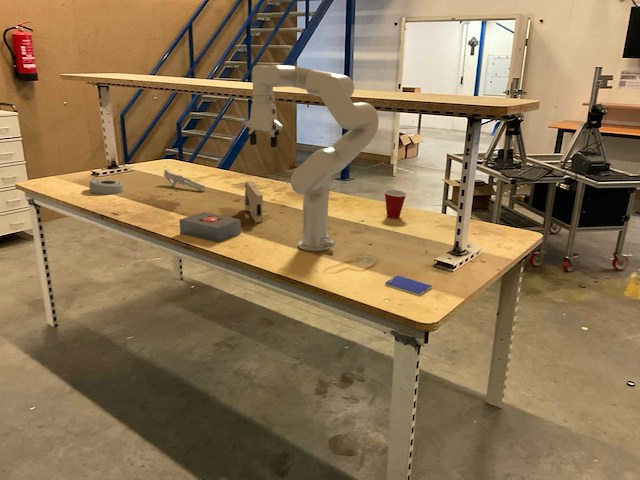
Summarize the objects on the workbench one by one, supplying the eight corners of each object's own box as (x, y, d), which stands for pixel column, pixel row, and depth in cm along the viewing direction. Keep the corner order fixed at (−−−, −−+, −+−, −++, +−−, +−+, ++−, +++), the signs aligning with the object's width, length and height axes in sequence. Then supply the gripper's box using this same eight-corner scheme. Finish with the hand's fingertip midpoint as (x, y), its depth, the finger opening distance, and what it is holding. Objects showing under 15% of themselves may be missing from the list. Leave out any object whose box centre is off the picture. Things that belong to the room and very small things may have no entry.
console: (240, 233, 211) (240, 219, 210) (217, 242, 200) (217, 228, 198) (204, 225, 221) (203, 211, 219) (180, 233, 209) (179, 219, 208)
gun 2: (243, 208, 248) (243, 178, 242) (250, 208, 249) (250, 178, 243) (255, 227, 227) (256, 195, 221) (263, 227, 228) (263, 194, 222)
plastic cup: (403, 221, 235) (405, 195, 231) (380, 218, 238) (381, 193, 234) (406, 215, 245) (408, 190, 241) (384, 212, 248) (386, 188, 244)
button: (220, 225, 210) (220, 218, 210) (210, 229, 206) (210, 222, 205) (209, 223, 213) (209, 216, 212) (199, 226, 208) (199, 219, 207)
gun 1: (166, 181, 294) (166, 169, 291) (205, 198, 281) (206, 185, 278) (163, 182, 292) (164, 169, 289) (202, 199, 280) (203, 185, 277)
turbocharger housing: (120, 197, 269) (125, 190, 283) (119, 184, 267) (125, 178, 281) (85, 195, 266) (92, 188, 280) (85, 182, 264) (92, 176, 278)
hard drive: (385, 282, 165) (419, 292, 158) (398, 274, 171) (432, 284, 164) (384, 286, 166) (419, 297, 158) (397, 279, 172) (431, 289, 164)
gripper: (287, 101, 192) (287, 147, 198) (250, 98, 201) (251, 142, 206) (276, 101, 186) (276, 149, 192) (238, 99, 194) (239, 144, 200)
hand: (263, 145), depth 199 cm, fingers open, 9 cm apart
